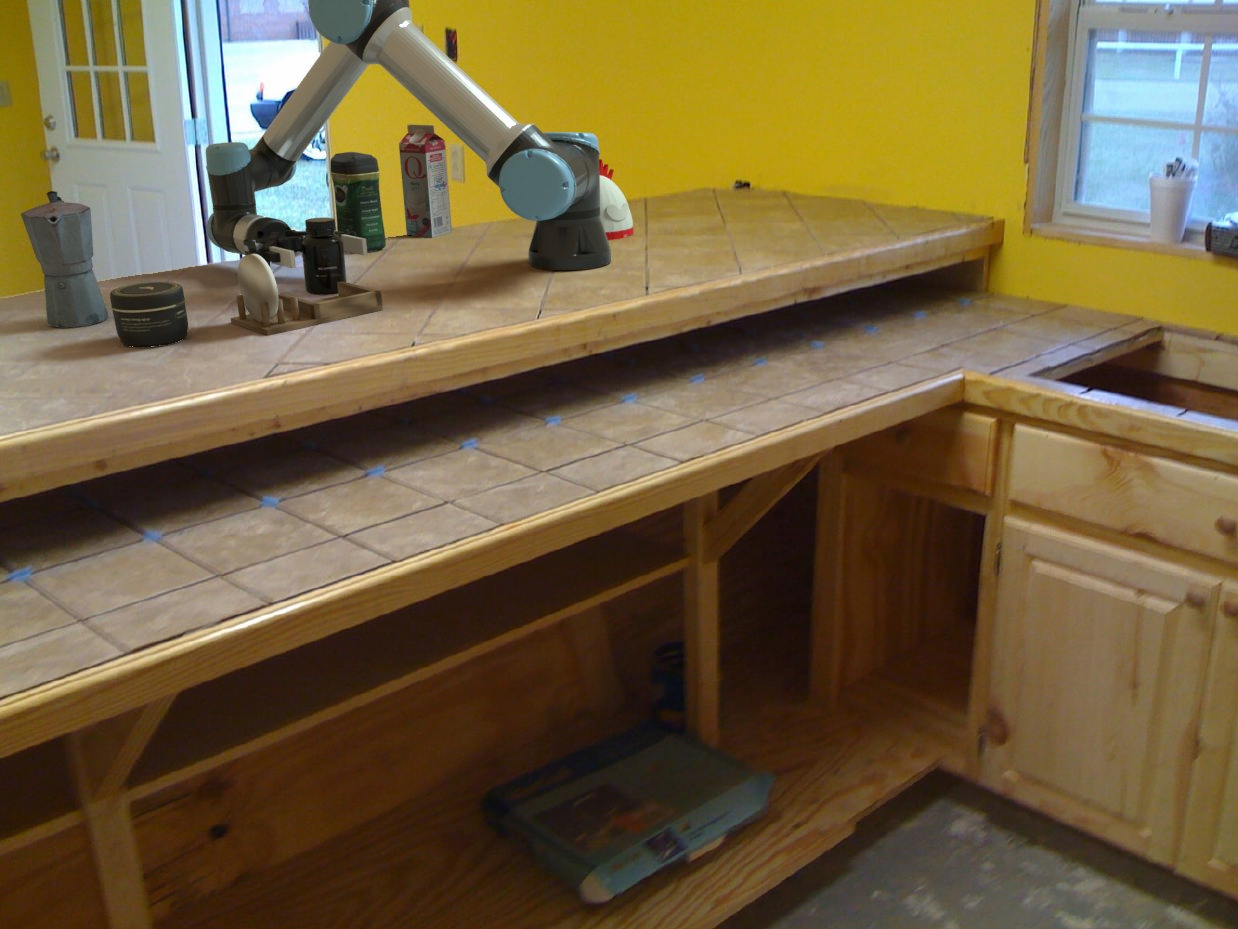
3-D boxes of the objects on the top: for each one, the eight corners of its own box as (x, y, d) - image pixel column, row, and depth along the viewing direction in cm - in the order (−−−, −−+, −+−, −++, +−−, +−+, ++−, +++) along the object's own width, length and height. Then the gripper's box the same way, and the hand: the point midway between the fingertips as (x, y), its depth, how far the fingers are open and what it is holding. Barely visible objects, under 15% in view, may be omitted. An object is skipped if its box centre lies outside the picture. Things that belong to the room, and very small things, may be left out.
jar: (138, 331, 178) (129, 280, 175) (202, 331, 177) (194, 280, 174) (105, 349, 168) (95, 296, 166) (173, 349, 167) (164, 296, 165)
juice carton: (432, 237, 244) (423, 126, 236) (406, 235, 247) (397, 125, 239) (451, 232, 249) (443, 123, 241) (426, 230, 252) (417, 122, 244)
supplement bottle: (327, 297, 195) (319, 224, 191) (297, 293, 199) (288, 221, 195) (356, 289, 201) (349, 217, 197) (327, 285, 204) (319, 214, 200)
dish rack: (344, 299, 194) (337, 233, 190) (382, 310, 186) (376, 241, 183) (231, 323, 181) (221, 252, 177) (267, 335, 173) (258, 261, 170)
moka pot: (42, 336, 176) (15, 199, 169) (44, 313, 189) (18, 185, 182) (111, 328, 180) (87, 193, 172) (108, 306, 193) (85, 181, 185)
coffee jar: (393, 249, 233) (384, 152, 226) (356, 255, 228) (346, 156, 222) (368, 243, 240) (359, 148, 233) (332, 248, 235) (322, 152, 228)
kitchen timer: (552, 235, 244) (548, 160, 239) (601, 226, 253) (599, 153, 247) (597, 243, 235) (594, 165, 229) (647, 233, 243) (646, 158, 238)
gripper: (328, 248, 220) (394, 263, 205) (201, 271, 203) (264, 288, 189) (323, 207, 217) (390, 220, 203) (195, 226, 201) (258, 241, 186)
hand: (329, 253), depth 196 cm, fingers open, 13 cm apart
